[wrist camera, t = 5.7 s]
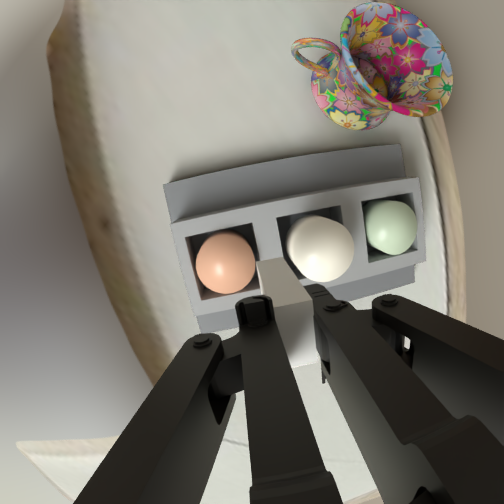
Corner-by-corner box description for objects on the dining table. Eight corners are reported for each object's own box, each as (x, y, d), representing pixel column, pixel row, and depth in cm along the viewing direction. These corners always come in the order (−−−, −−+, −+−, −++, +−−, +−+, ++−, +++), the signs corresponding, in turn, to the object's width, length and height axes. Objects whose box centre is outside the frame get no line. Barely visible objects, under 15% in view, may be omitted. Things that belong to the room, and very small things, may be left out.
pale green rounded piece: (353, 203, 26) (370, 206, 22) (394, 195, 26) (414, 198, 22) (359, 250, 27) (376, 259, 23) (399, 241, 27) (418, 248, 23)
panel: (167, 184, 26) (154, 184, 22) (390, 145, 27) (417, 140, 22) (203, 324, 30) (198, 350, 25) (405, 276, 30) (430, 291, 25)
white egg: (280, 220, 24) (289, 226, 20) (333, 210, 24) (349, 214, 20) (290, 274, 24) (299, 288, 21) (341, 262, 25) (357, 274, 21)
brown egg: (195, 235, 25) (189, 243, 22) (246, 224, 25) (248, 230, 22) (207, 284, 26) (203, 298, 23) (256, 273, 26) (260, 287, 23)
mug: (388, 62, 25) (444, 24, 15) (391, 142, 27) (458, 129, 17) (277, 40, 24) (299, -20, 14) (274, 126, 26) (300, 94, 16)
